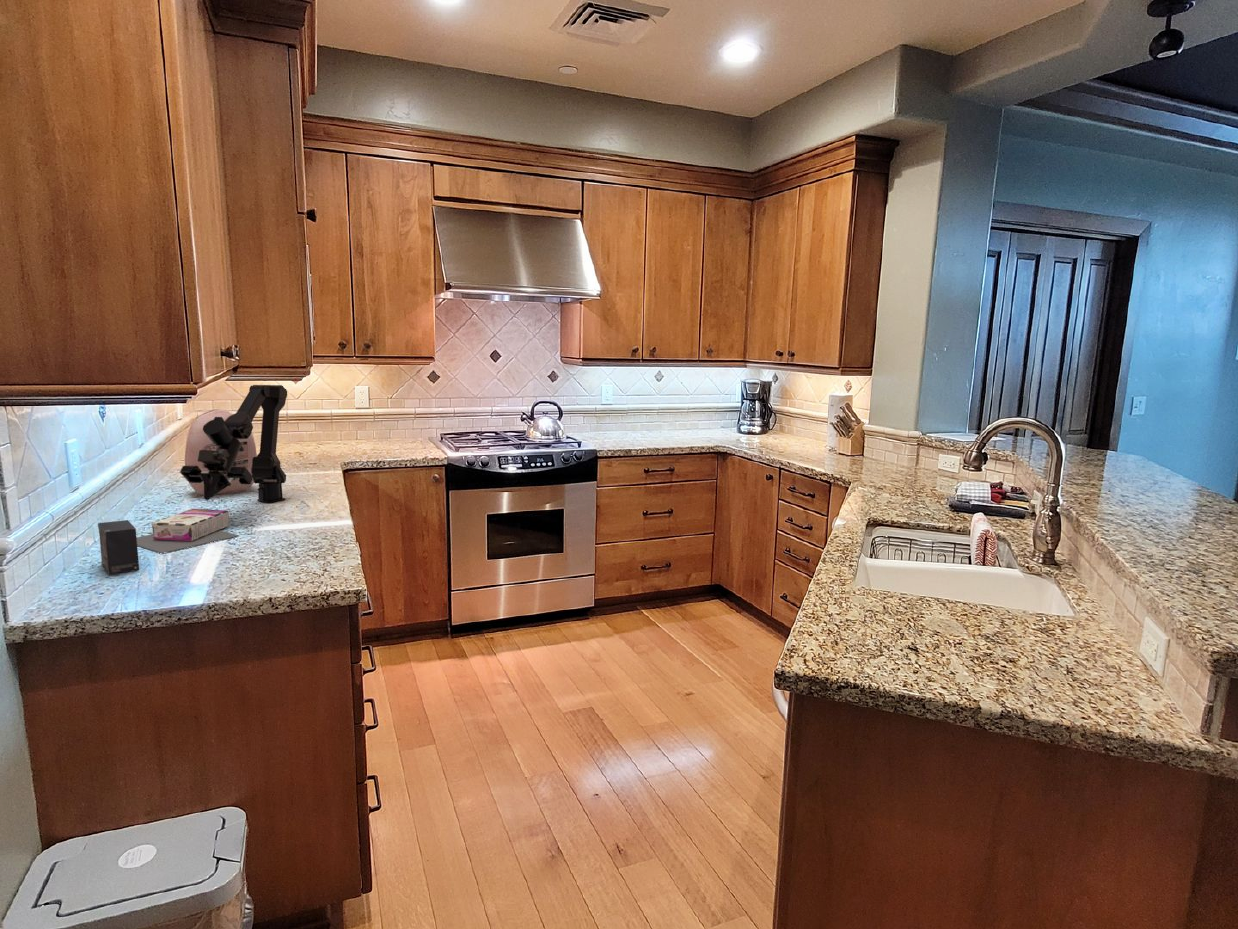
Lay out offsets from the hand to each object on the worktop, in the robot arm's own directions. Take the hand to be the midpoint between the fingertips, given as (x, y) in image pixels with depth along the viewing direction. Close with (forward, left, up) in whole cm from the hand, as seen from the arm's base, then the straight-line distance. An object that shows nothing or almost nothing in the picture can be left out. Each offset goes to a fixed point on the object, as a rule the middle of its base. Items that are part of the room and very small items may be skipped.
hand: (206, 499), depth 200 cm
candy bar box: (-2, -1, -6) cm, 6 cm away
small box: (+30, +18, -9) cm, 36 cm away
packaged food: (-28, -41, -9) cm, 50 cm away
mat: (+10, +5, -9) cm, 14 cm away
